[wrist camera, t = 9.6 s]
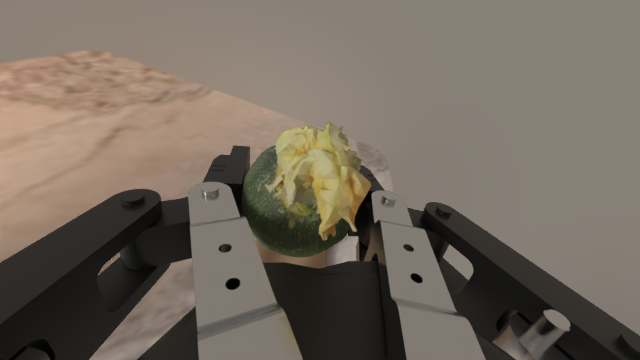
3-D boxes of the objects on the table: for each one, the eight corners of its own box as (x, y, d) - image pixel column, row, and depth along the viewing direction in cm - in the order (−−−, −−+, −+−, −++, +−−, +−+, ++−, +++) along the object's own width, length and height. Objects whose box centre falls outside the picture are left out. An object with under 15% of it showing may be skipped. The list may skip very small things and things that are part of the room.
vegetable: (267, 195, 23) (308, -56, 4) (309, 218, 23) (519, 76, 5) (241, 240, 21) (125, 154, 3) (286, 263, 22) (460, 330, 3)
